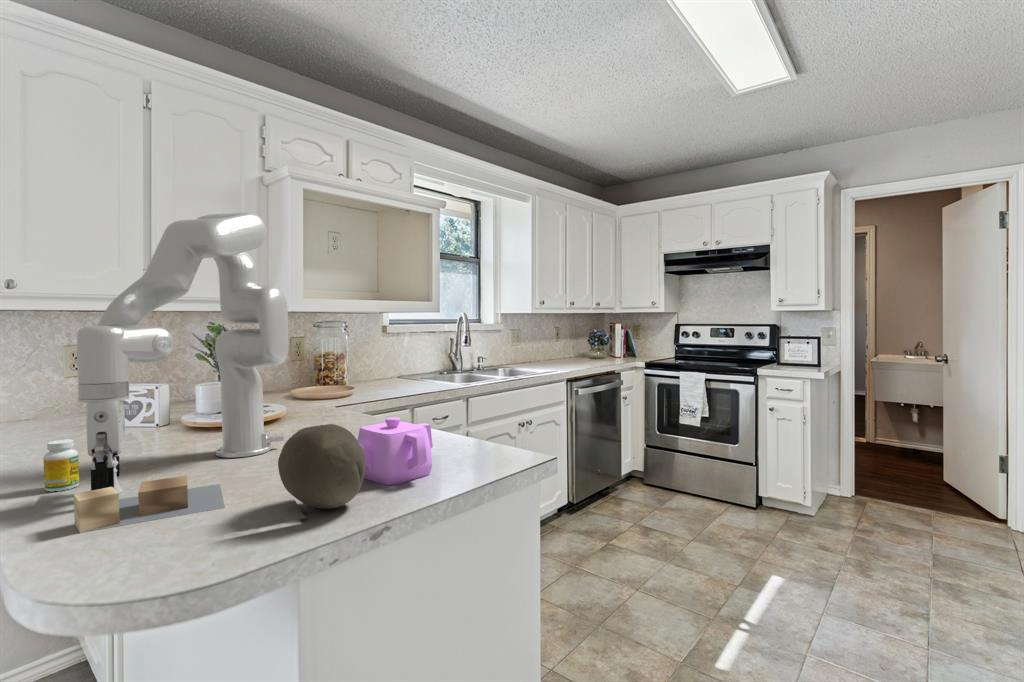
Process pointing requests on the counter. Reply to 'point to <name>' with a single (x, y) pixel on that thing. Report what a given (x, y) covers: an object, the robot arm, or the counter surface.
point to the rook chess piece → (116, 485)
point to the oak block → (96, 509)
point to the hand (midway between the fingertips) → (106, 483)
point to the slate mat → (197, 502)
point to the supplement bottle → (61, 466)
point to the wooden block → (163, 495)
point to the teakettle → (396, 451)
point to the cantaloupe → (322, 466)
